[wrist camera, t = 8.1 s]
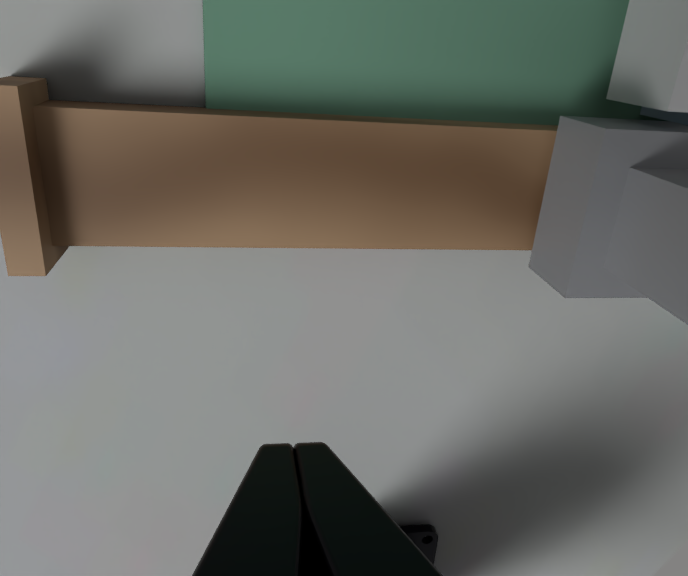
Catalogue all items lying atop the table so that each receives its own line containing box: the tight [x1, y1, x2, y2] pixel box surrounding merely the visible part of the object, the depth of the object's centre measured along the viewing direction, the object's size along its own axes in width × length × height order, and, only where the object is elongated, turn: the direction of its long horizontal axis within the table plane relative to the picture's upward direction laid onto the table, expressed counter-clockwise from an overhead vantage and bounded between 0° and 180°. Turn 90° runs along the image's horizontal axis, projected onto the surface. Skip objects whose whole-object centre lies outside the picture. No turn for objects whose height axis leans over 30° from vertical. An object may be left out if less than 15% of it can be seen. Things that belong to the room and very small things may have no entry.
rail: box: [0, 76, 558, 276], centre depth 19 cm, size 5×23×2 cm, turn 87°
